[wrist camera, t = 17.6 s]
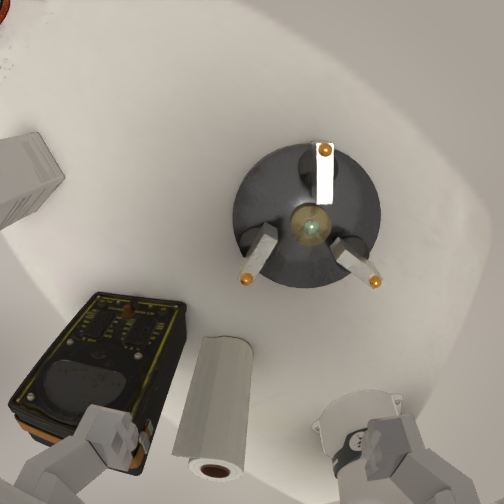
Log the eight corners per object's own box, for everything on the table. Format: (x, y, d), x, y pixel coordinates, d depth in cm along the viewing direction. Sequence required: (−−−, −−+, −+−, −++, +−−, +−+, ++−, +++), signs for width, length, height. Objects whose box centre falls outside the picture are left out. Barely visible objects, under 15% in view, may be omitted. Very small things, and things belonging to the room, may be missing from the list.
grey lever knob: (335, 193, 35) (348, 206, 30) (298, 193, 35) (303, 206, 30) (336, 140, 33) (349, 143, 27) (297, 139, 33) (302, 142, 28)
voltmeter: (188, 296, 44) (128, 446, 21) (191, 343, 47) (148, 486, 24) (92, 285, 44) (-2, 398, 21) (102, 330, 47) (30, 444, 24)
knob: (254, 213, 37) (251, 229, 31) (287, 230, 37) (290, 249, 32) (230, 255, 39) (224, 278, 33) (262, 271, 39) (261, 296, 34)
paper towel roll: (258, 360, 48) (252, 480, 28) (224, 368, 49) (204, 484, 29) (240, 325, 45) (223, 452, 25) (203, 336, 46) (170, 456, 27)
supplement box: (9, 168, 37) (-60, 193, 23) (38, 130, 35) (-37, 145, 21) (35, 213, 40) (-31, 250, 26) (67, 178, 38) (-6, 209, 24)
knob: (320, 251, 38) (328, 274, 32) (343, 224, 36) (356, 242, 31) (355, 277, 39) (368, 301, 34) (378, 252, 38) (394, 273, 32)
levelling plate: (392, 252, 39) (403, 265, 36) (270, 301, 43) (269, 318, 39) (347, 121, 33) (356, 121, 30) (208, 181, 37) (201, 188, 33)
